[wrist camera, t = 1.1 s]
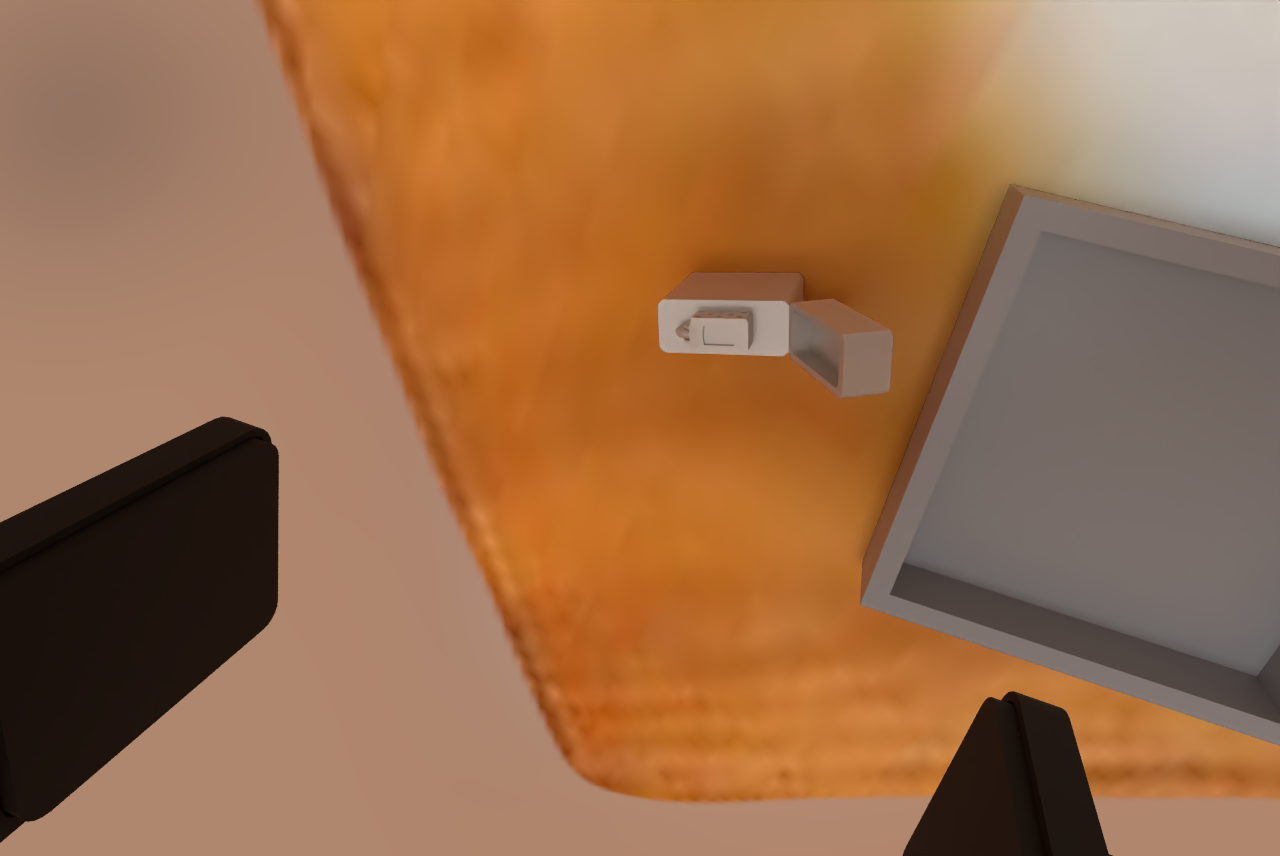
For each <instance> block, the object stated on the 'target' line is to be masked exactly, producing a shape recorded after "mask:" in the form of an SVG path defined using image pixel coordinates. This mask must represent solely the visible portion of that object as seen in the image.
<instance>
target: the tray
mask: <svg viewBox="0 0 1280 856" xmlns="http://www.w3.org/2000/svg"><path fill="white" fill-rule="evenodd" d="M860 605H862V606H865V607H868V608H871V609H874V610H877V611H880V612H883V613H886V614H889V615H892V616H895V617H898V618H901V619H904V620H907V621H910V622H912V623H915V624H918V625H921V626H924V627H927V628H930V629H933V630H936V631H939V632H942V633H945V634H948V635H951V636H954V637H957V638H960V639H963V640H966V641H969V642H972V643H975V644H978V645H981V646H984V647H987V648H990V649H993V650H996V651H999V652H1002V653H1005V654H1008V655H1011V656H1014V657H1017V658H1020V659H1023V660H1026V661H1029V662H1032V663H1035V664H1038V665H1041V666H1044V667H1047V668H1049V669H1052V670H1055V671H1058V672H1061V673H1064V674H1067V675H1070V676H1073V677H1076V678H1079V679H1082V680H1085V681H1088V682H1091V683H1094V684H1097V685H1100V686H1103V687H1106V688H1109V689H1112V690H1115V691H1118V692H1121V693H1124V694H1127V695H1130V696H1133V697H1136V698H1139V699H1142V700H1145V701H1148V702H1151V703H1154V704H1157V705H1160V706H1163V707H1166V708H1169V709H1172V710H1175V711H1178V712H1181V713H1184V714H1186V715H1189V716H1192V717H1195V718H1198V719H1201V720H1204V721H1207V722H1210V723H1213V724H1216V725H1219V726H1222V727H1225V728H1228V729H1231V730H1234V731H1237V732H1240V733H1243V734H1246V735H1249V736H1252V737H1255V738H1258V739H1261V740H1264V741H1267V742H1270V743H1273V744H1276V745H1279V746H1280V247H1275V246H1271V245H1267V244H1263V243H1258V242H1254V241H1250V240H1246V239H1241V238H1237V237H1233V236H1229V235H1224V234H1220V233H1216V232H1212V231H1207V230H1203V229H1199V228H1195V227H1190V226H1186V225H1182V224H1178V223H1173V222H1169V221H1165V220H1161V219H1156V218H1152V217H1148V216H1144V215H1139V214H1135V213H1131V212H1126V211H1122V210H1118V209H1114V208H1109V207H1105V206H1101V205H1097V204H1092V203H1088V202H1084V201H1080V200H1075V199H1071V198H1067V197H1063V196H1058V195H1054V194H1050V193H1046V192H1041V191H1037V190H1033V189H1029V188H1024V187H1020V186H1016V185H1012V184H1010V186H1009V189H1008V191H1007V194H1006V196H1005V199H1004V201H1003V204H1002V206H1001V209H1000V212H999V214H998V217H997V219H996V222H995V224H994V227H993V229H992V232H991V235H990V237H989V240H988V242H987V245H986V247H985V250H984V252H983V255H982V258H981V260H980V263H979V265H978V268H977V270H976V273H975V275H974V278H973V281H972V283H971V286H970V288H969V291H968V293H967V296H966V298H965V301H964V304H963V306H962V309H961V311H960V314H959V316H958V319H957V321H956V324H955V327H954V329H953V332H952V334H951V337H950V339H949V342H948V345H947V347H946V350H945V352H944V355H943V357H942V360H941V362H940V365H939V368H938V370H937V373H936V375H935V378H934V380H933V383H932V385H931V388H930V391H929V393H928V396H927V398H926V401H925V403H924V406H923V408H922V411H921V414H920V416H919V419H918V421H917V424H916V426H915V429H914V431H913V434H912V437H911V439H910V442H909V444H908V447H907V449H906V452H905V454H904V457H903V460H902V462H901V465H900V467H899V470H898V472H897V475H896V477H895V480H894V483H893V485H892V488H891V490H890V493H889V495H888V498H887V500H886V503H885V506H884V508H883V511H882V513H881V516H880V518H879V521H878V523H877V526H876V529H875V531H874V534H873V536H872V539H871V541H870V544H869V546H868V549H867V552H866V554H865V557H864V559H863V565H862V581H861V598H860Z"/></svg>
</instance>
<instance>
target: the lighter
mask: <svg viewBox="0 0 1280 856" xmlns="http://www.w3.org/2000/svg"><path fill="white" fill-rule="evenodd" d="M803 290H804V277H803V276H802V275H801V274H800V273H769V272H693V273H691V274H690V275H689V276H688V277H687V278H686V279H685V280H684V281H683V282H682V283H680V284H679V285H678V286H677V287H676V288H675V289H674V290H673V291H672V292H671V293H669V294H668V295H667V296H666V297H665V298H664V299H663V300H662V301H661V302H660V303H659V304H658V322H659V344H660V348H661V349H662V350H663V351H664V352H667V353H698V354H728V355H759V356H784V355H785V354H787V353H788V352H789V355H790V358H791V359H792V360H793V361H795V362H796V363H797V364H798V365H799V366H801V367H802V368H803V369H804V370H805V371H807V372H808V373H809V374H810V375H811V376H813V377H814V378H815V379H816V380H818V381H819V382H820V383H821V384H822V385H824V386H825V387H826V388H827V389H828V390H830V391H831V392H832V393H833V394H835V395H836V396H837V397H838V398H848V397H857V396H866V395H875V394H884V393H887V392H888V391H889V390H890V380H891V365H892V351H893V335H892V332H891V330H890V329H889V328H887V327H885V326H883V325H881V324H879V323H877V322H876V321H874V320H872V319H870V318H868V317H866V316H865V315H863V314H861V313H859V312H857V311H855V310H854V309H852V308H850V307H848V306H846V305H844V304H843V303H841V302H839V301H837V300H835V299H823V300H812V301H803Z"/></svg>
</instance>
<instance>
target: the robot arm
mask: <svg viewBox="0 0 1280 856" xmlns="http://www.w3.org/2000/svg"><path fill="white" fill-rule="evenodd" d="M278 480H279V455H278V450H277V448H276V446H274V445H273V444H272V443H271V438H270V436H269V434H268V433H267V432H266V431H265V430H263V429H261V428H258V427H255V426H252V425H250V424H247V423H244V422H241V421H238V420H235V419H232V418H230V417H220V418H216V419H214V420H212V421H209V422H207V423H205V424H203V425H201V426H199V427H197V428H195V429H193V430H191V431H189V432H187V433H185V434H183V435H181V436H178V437H176V438H174V439H172V440H170V441H168V442H166V443H164V444H162V445H160V446H158V447H156V448H154V449H151V450H149V451H147V452H145V453H143V454H141V455H139V456H137V457H135V458H133V459H131V460H129V461H127V462H125V463H122V464H120V465H118V466H116V467H114V468H112V469H110V470H108V471H106V472H104V473H102V474H100V475H98V476H96V477H94V478H91V479H89V480H87V481H85V482H83V483H81V484H79V485H77V486H75V487H73V488H71V489H69V490H66V491H65V492H62V493H60V494H58V495H56V496H54V497H52V498H50V499H48V500H46V501H44V502H42V503H40V504H37V505H35V506H33V507H31V508H29V509H28V510H25V511H23V512H21V513H19V514H17V515H15V516H13V517H11V518H9V519H7V520H4V521H2V522H0V842H2V841H3V840H4V839H5V838H6V837H8V836H9V835H10V834H11V833H12V832H14V831H15V830H16V829H17V828H18V827H19V826H21V825H22V824H23V823H24V822H25V821H27V822H29V821H35V820H37V819H39V818H41V817H43V816H45V815H46V814H48V813H49V812H50V811H52V810H53V809H54V808H55V807H56V806H58V805H59V804H60V803H61V802H62V801H63V800H64V799H65V798H67V797H68V796H69V795H70V794H71V793H73V792H74V791H75V790H76V789H77V788H79V787H80V786H81V785H82V784H83V783H84V782H86V781H87V780H88V779H89V778H90V777H91V776H92V775H94V774H95V773H96V772H97V771H98V770H100V769H101V768H102V767H103V766H104V765H105V764H107V763H108V762H109V761H110V760H111V759H112V758H114V756H116V755H117V754H118V753H119V752H121V751H122V750H123V749H124V748H125V747H126V746H128V745H129V744H130V743H131V742H132V741H133V740H135V739H136V738H137V737H138V736H139V735H140V734H142V733H143V732H144V731H145V730H146V729H147V728H149V727H150V726H151V725H152V724H153V723H155V722H156V721H157V720H158V719H159V718H160V717H161V716H163V715H164V714H165V713H166V712H167V711H169V709H171V708H172V707H173V706H174V705H175V704H177V703H178V702H179V701H180V700H181V699H183V698H184V697H185V696H186V695H187V694H188V693H189V692H191V691H192V690H193V689H194V688H195V687H197V686H198V685H199V684H200V683H201V682H202V681H204V680H205V679H206V678H207V677H208V676H209V675H211V674H212V673H213V672H214V671H215V670H216V669H218V668H219V667H220V666H221V665H222V664H223V663H225V662H226V661H227V660H228V659H229V658H230V657H232V656H233V655H234V654H235V653H236V652H237V651H238V650H240V649H241V648H242V647H243V646H244V645H246V644H247V643H248V642H249V641H250V640H251V639H253V638H254V637H255V636H256V635H257V634H258V633H260V632H261V631H262V630H263V629H264V628H265V627H266V626H267V625H268V624H269V622H270V621H271V619H272V618H273V615H274V613H275V611H276V608H277V603H278V489H279V488H278V487H279V481H278ZM903 856H1112V855H1109V854H1108V850H1107V847H1106V843H1105V840H1104V837H1103V833H1102V829H1101V826H1100V822H1099V819H1098V815H1097V812H1096V809H1095V805H1094V802H1093V798H1092V795H1091V791H1090V788H1089V784H1088V781H1087V777H1086V774H1085V770H1084V767H1083V763H1082V760H1081V756H1080V753H1079V750H1078V746H1077V743H1076V739H1075V736H1074V732H1073V729H1072V725H1071V722H1070V718H1069V716H1068V714H1067V712H1066V711H1065V710H1064V709H1062V708H1060V707H1057V706H1054V705H1051V704H1048V703H1046V702H1043V701H1040V700H1037V699H1034V698H1031V697H1028V696H1025V695H1023V694H1020V693H1017V692H1014V691H1012V692H1008V693H1007V694H1006V695H1005V696H1004V697H1003V699H1002V700H998V699H995V698H992V697H989V698H987V699H986V700H985V701H984V703H983V704H982V706H981V708H980V709H979V711H978V713H977V715H976V717H975V719H974V721H973V723H972V724H971V726H970V728H969V730H968V732H967V734H966V736H965V737H964V739H963V741H962V743H961V745H960V747H959V749H958V751H957V752H956V754H955V756H954V758H953V760H952V762H951V764H950V765H949V767H948V769H947V771H946V773H945V775H944V777H943V779H942V780H941V782H940V784H939V786H938V788H937V790H936V792H935V794H934V795H933V797H932V799H931V801H930V803H929V805H928V807H927V808H926V810H925V812H924V814H923V816H922V818H921V820H920V822H919V824H918V825H917V827H916V829H915V831H914V833H913V835H912V836H911V838H910V840H909V842H908V844H907V846H906V848H905V850H904V853H903Z"/></svg>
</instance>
